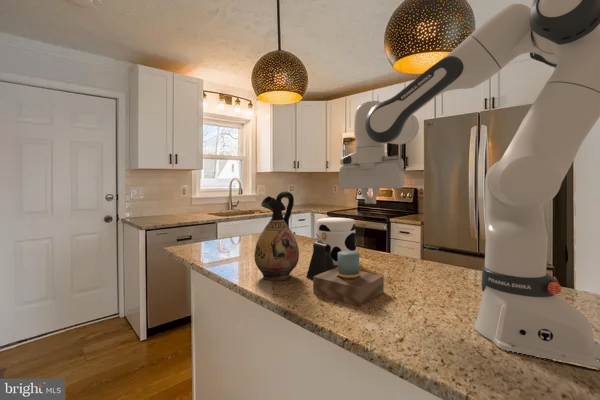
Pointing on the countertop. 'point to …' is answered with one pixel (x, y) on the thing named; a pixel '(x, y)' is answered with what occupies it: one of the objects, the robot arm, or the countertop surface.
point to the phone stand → (320, 260)
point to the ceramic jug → (277, 241)
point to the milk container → (336, 235)
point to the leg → (348, 264)
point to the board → (348, 287)
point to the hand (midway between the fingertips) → (370, 203)
